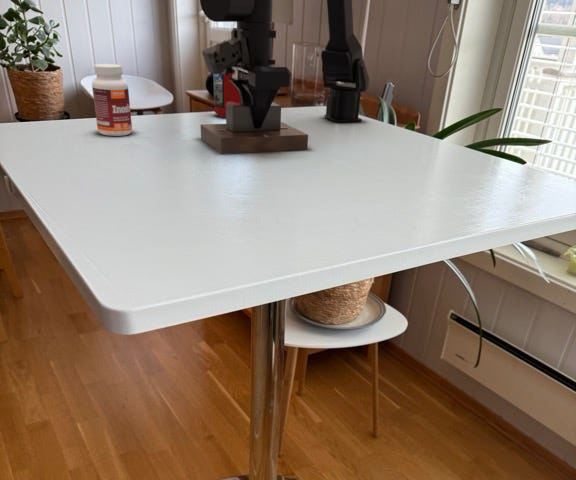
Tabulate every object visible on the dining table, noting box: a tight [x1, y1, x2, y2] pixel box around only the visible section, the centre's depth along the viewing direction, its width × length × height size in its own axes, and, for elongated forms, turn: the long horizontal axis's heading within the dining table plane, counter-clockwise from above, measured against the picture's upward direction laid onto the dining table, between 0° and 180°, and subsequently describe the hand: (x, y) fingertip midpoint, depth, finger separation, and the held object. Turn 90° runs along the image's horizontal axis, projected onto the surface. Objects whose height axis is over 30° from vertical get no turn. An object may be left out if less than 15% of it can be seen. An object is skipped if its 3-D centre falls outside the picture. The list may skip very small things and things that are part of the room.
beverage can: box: [212, 73, 241, 119], centre depth 121 cm, size 7×7×12 cm
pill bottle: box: [91, 63, 133, 137], centre depth 101 cm, size 6×6×11 cm
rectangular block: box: [225, 101, 282, 132], centre depth 99 cm, size 9×4×4 cm, turn 113°
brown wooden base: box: [200, 121, 309, 155], centre depth 101 cm, size 16×13×3 cm
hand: (253, 126), depth 100 cm, fingers closed on rectangular block, 4 cm apart
